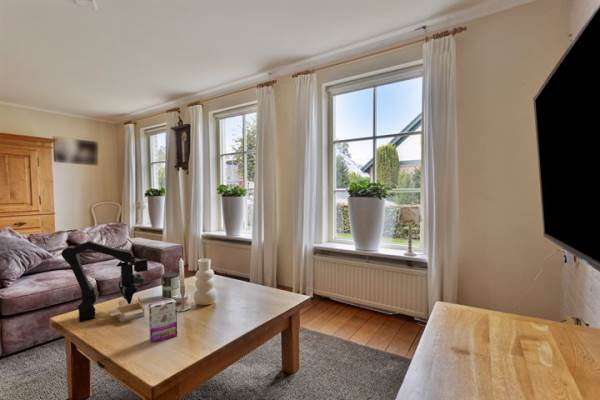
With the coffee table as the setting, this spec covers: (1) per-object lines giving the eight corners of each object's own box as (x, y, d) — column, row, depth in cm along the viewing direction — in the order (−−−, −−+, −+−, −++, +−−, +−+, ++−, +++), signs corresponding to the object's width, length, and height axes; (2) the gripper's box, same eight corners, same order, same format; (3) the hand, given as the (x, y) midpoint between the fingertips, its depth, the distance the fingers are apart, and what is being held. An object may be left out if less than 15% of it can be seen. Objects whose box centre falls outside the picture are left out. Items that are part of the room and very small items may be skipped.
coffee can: (161, 300, 178) (161, 277, 178) (162, 295, 188) (161, 273, 187) (180, 297, 183) (179, 275, 182) (179, 292, 192) (179, 271, 192)
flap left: (119, 305, 157) (118, 301, 160) (119, 306, 158) (118, 301, 160) (136, 302, 163) (134, 297, 165) (136, 302, 163) (134, 298, 165)
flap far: (143, 306, 156) (141, 300, 156) (139, 302, 162) (137, 296, 162) (143, 306, 157) (141, 300, 156) (140, 302, 163) (138, 296, 162)
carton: (112, 327, 142) (112, 319, 142) (107, 317, 154) (107, 309, 154) (146, 318, 152) (146, 310, 152) (139, 310, 164) (139, 302, 164)
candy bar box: (174, 332, 138) (174, 298, 138) (177, 336, 134) (177, 301, 134) (148, 339, 132) (148, 303, 131) (150, 343, 128) (150, 307, 127)
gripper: (147, 274, 159) (148, 302, 159) (139, 267, 173) (139, 293, 173) (124, 278, 151) (124, 307, 152) (117, 271, 165) (117, 298, 166)
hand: (127, 301), depth 161 cm, fingers open, 9 cm apart
